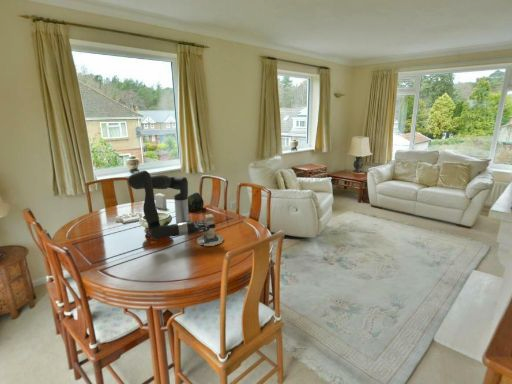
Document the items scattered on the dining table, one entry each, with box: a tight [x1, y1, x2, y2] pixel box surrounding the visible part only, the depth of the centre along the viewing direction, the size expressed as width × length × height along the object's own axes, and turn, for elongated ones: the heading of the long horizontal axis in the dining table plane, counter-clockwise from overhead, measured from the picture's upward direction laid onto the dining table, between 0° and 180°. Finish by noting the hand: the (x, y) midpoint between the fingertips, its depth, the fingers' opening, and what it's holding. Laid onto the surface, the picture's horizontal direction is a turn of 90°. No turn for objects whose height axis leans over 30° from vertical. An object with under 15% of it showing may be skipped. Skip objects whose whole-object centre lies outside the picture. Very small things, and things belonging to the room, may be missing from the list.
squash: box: [188, 192, 205, 211], centre depth 240 cm, size 14×15×15 cm
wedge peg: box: [204, 213, 215, 239], centre depth 178 cm, size 4×4×14 cm
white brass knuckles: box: [115, 211, 143, 224], centre depth 218 cm, size 3×18×15 cm
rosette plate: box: [196, 232, 224, 247], centre depth 180 cm, size 16×16×3 cm
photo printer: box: [154, 193, 167, 210], centre depth 243 cm, size 10×4×12 cm, turn 60°
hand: (213, 224), depth 179 cm, fingers closed on wedge peg, 4 cm apart
